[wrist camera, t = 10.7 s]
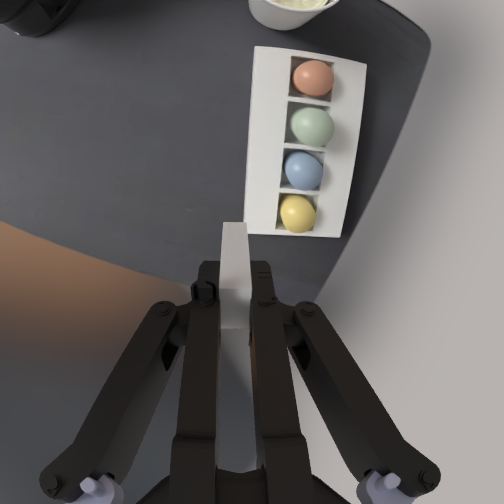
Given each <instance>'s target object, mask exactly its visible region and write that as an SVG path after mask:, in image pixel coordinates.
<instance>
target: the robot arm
mask: <svg viewBox="0 0 504 504" xmlns="http://www.w3.org/2000/svg"><path fill="white" fill-rule="evenodd" d="M79 1H80V0H0V23H1V24H4V25H6V26H7V27H8V28H10V29H11V30H13V31H14V32H15V33H16V34H18V35H21V36H27V37H36V36H40V35H43V34H45V33H47V32H49V31H51V30H52V29H54V28H55V27H56V26H58V25H59V24H60V23H61V22H62V21H63V20H64V19H65V18H66V17H67V16H68V15H69V14H70V13H71V12H72V11H73V9H74V8H75V7H76V5H77V4H78V2H79ZM191 296H192V301H191V302H189V303H187V304H185V305H181V306H175V304H173V303H172V302H169V301H160V302H157V303H155V304H154V305H153V306H152V307H151V308H150V310H149V311H148V313H147V314H146V316H145V318H144V319H143V321H142V323H141V324H140V325H139V327H138V329H137V330H136V332H135V334H134V335H133V337H132V338H131V340H130V342H129V343H128V345H127V347H126V348H125V350H124V352H123V353H122V355H121V357H120V358H119V360H118V362H117V364H116V366H115V367H114V369H113V371H112V372H111V374H110V376H109V377H108V379H107V381H106V383H105V384H104V386H103V388H102V390H101V391H100V393H99V395H98V397H97V399H96V401H95V402H94V404H93V406H92V408H91V410H90V411H89V413H88V416H87V417H86V419H85V421H84V423H83V425H82V427H81V428H80V430H79V432H78V434H77V436H76V438H75V440H74V442H73V444H72V445H70V446H69V447H68V448H67V449H66V450H65V451H64V452H63V453H61V454H60V455H59V456H58V457H57V458H56V459H55V460H54V461H53V462H52V463H50V464H49V465H48V466H47V467H46V468H45V469H44V470H43V471H42V472H41V474H40V478H39V482H40V486H41V488H42V490H43V492H44V493H45V494H46V495H47V496H49V497H50V498H53V499H55V500H58V501H61V502H63V503H65V504H122V502H123V500H124V493H123V490H122V488H121V487H120V486H119V485H120V484H121V483H122V481H123V480H124V479H125V477H126V476H127V474H128V472H129V470H130V468H131V466H132V463H133V461H134V459H135V456H136V454H137V451H138V449H139V447H140V444H141V442H142V440H143V437H144V435H145V433H146V430H147V428H148V426H149V423H150V421H151V419H152V416H153V414H154V412H155V409H156V407H157V405H158V403H159V400H160V398H161V396H162V393H163V391H164V389H165V387H166V384H167V382H168V380H169V377H170V375H171V373H172V371H173V369H174V366H175V364H176V362H177V360H178V357H179V355H180V353H181V351H182V348H183V346H184V345H186V347H185V354H184V362H183V371H182V380H181V389H180V398H179V408H178V420H177V430H176V435H175V437H174V438H173V441H172V451H171V464H170V475H169V476H167V477H165V478H164V479H162V480H161V481H160V482H159V483H158V484H157V485H155V487H153V488H152V489H151V490H150V491H149V492H148V493H147V494H146V495H145V496H144V497H143V498H142V499H141V500H139V501H138V502H137V503H136V504H351V503H349V502H348V501H347V500H345V499H344V498H343V497H342V496H340V495H339V494H338V493H337V492H335V491H334V490H333V489H332V488H330V487H329V486H328V485H327V484H325V483H324V482H323V481H322V480H321V479H319V478H318V477H316V476H315V475H312V474H311V467H310V460H309V454H308V448H307V442H306V439H305V437H304V436H303V435H302V433H301V430H300V424H299V417H298V411H297V405H296V399H295V392H294V386H293V380H292V374H291V368H290V362H289V356H288V350H289V351H290V353H291V355H292V358H293V360H294V362H295V363H296V365H297V368H298V370H299V372H300V374H301V376H302V378H303V380H304V382H305V384H306V386H307V388H308V390H309V392H310V394H311V396H312V398H313V400H314V402H315V404H316V406H317V408H318V410H319V412H320V414H321V416H322V418H323V420H324V422H325V424H326V426H327V428H328V430H329V432H330V434H331V436H332V438H333V440H334V442H335V444H336V445H337V448H338V450H339V452H340V454H341V456H342V458H343V459H344V461H345V463H346V465H347V467H348V468H349V470H350V472H351V473H352V474H353V476H354V477H355V478H356V479H357V481H358V482H359V484H358V486H357V490H356V493H357V497H358V498H359V500H360V502H361V503H362V504H412V502H413V501H414V500H415V499H416V498H417V497H419V496H421V495H424V494H426V493H429V492H431V491H433V490H434V489H435V488H436V487H437V486H438V484H439V482H440V478H441V473H440V470H439V468H438V467H437V465H436V464H434V463H433V462H432V461H430V460H429V459H428V458H427V457H425V456H424V455H423V454H421V453H420V452H419V451H418V450H416V449H415V448H414V447H412V446H411V445H410V444H409V443H408V442H406V441H405V440H404V439H403V437H402V435H401V434H400V432H399V430H398V429H397V428H396V426H395V424H394V422H393V421H392V419H391V417H390V416H389V414H388V413H387V411H386V409H385V408H384V406H383V404H382V403H381V401H380V400H379V398H378V396H377V395H376V393H375V392H374V390H373V388H372V387H371V385H370V384H369V382H368V381H367V379H366V377H365V376H364V374H363V373H362V371H361V370H360V368H359V366H358V365H357V363H356V362H355V360H354V359H353V357H352V356H351V354H350V353H349V351H348V349H347V348H346V346H345V345H344V343H343V342H342V340H341V339H340V337H339V336H338V334H337V333H336V331H335V330H334V328H333V327H332V325H331V324H330V322H329V320H328V319H327V318H326V316H325V314H324V313H323V311H322V310H321V308H320V307H319V306H318V305H317V304H315V303H313V302H308V301H303V302H300V303H298V304H297V305H296V306H295V307H294V306H289V305H286V304H283V303H281V302H280V301H279V300H278V298H277V297H276V295H275V290H274V285H273V279H272V273H271V268H270V265H269V264H268V263H267V262H266V261H250V258H249V246H248V234H247V223H246V222H223V234H222V248H221V261H204V262H203V263H202V264H201V265H200V267H199V273H198V280H197V281H195V282H194V283H193V284H192V286H191ZM249 327H250V333H249V346H250V358H251V375H252V391H253V407H254V421H255V422H254V423H255V438H256V454H257V461H256V462H257V463H256V467H257V470H253V471H249V472H245V473H234V472H230V471H225V470H221V469H220V444H219V441H220V440H219V439H220V436H219V435H220V433H219V431H220V428H219V427H220V423H219V422H220V420H219V419H220V416H219V415H220V414H219V413H220V411H219V410H220V346H221V328H224V329H225V328H226V329H249ZM287 347H288V350H287Z"/></svg>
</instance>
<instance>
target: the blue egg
mask: <svg viewBox="0 0 504 504" xmlns="http://www.w3.org/2000/svg"><path fill="white" fill-rule="evenodd" d="M283 170H284V172H285V174H286V176H287V178H288V180H289V181H290V183H291V184H292V186H293V187H295V188H296V189H299V190H303V191H307V190H311V189H313V188H315V187H316V186H317V185H318V184H319V183H320V182H321V180H322V177H323V169H322V166H321V164H320V163H319V162H318V161H317V160H316V159H315V158H314V157H313V156H312V155H310V154H309V153H308V152H307V151H304V150H300V149H298V150H293V151H291V152H289V153H288V154H287V155H286V156H285V158H284V160H283Z"/></svg>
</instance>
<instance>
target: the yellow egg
mask: <svg viewBox="0 0 504 504" xmlns="http://www.w3.org/2000/svg"><path fill="white" fill-rule="evenodd" d="M278 207H279V211H280V214H281V218H282V221H283V224H284V226H285V227H286V229H287V230H289V231H290V232H293V233H304V232H306V231H308V230H309V229H311V228H312V226H313V225H314V223H315V220H316V213H315V211H314V209H313V207H312V205H311V204H310V202H309V201H308V199H307V197H306V196H305V195H304V194H296V193H285V194H284V195H283V196H282V197H281V199H280V201H279V204H278Z"/></svg>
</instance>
